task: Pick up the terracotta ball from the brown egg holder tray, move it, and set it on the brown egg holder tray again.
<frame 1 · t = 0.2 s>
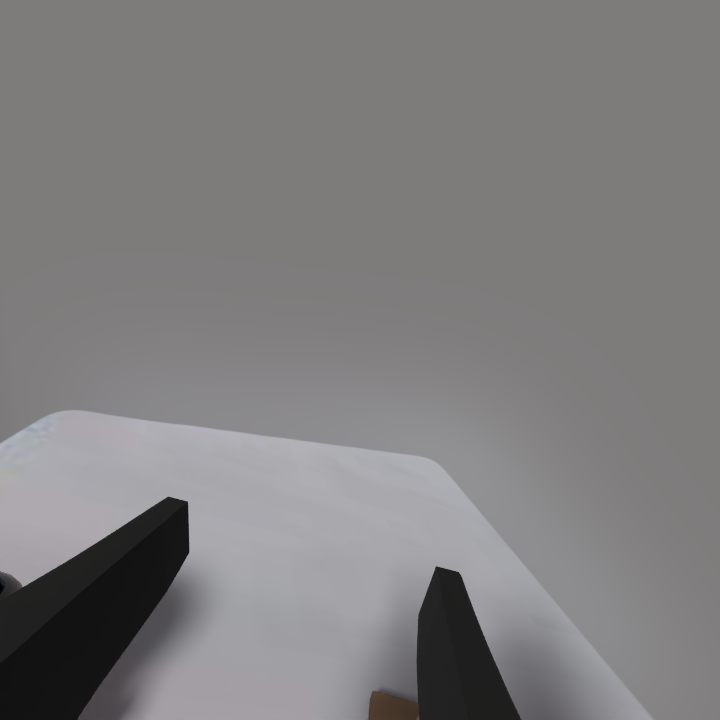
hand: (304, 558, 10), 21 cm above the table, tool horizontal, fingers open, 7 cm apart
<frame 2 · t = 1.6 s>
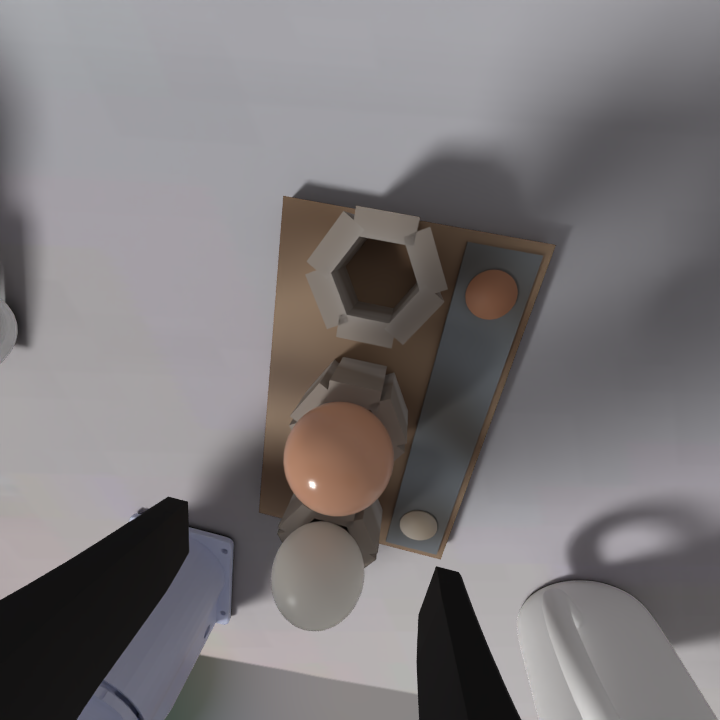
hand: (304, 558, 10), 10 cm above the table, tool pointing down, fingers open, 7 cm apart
cream ball: (318, 572, 17), point 6 cm above the table, touching brown egg holder tray
mug: (566, 598, 22), on the table
terracotta ball: (339, 456, 14), point 6 cm above the table, touching brown egg holder tray
brown egg holder tray: (376, 399, 19), on the table
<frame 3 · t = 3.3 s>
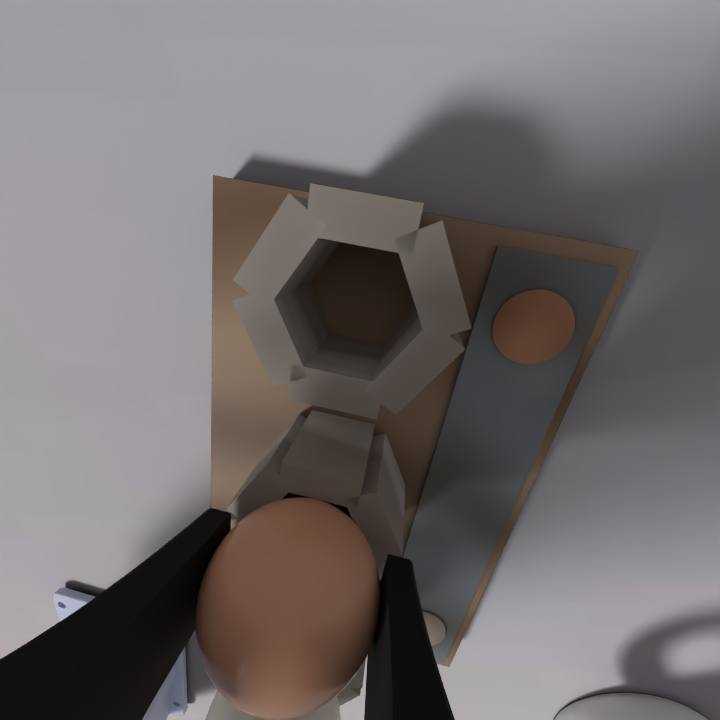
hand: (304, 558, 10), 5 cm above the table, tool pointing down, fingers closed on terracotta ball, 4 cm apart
mug: (613, 710, 17), on the table
terracotta ball: (293, 591, 9), point 6 cm above the table, touching gripper, brown egg holder tray
brown egg holder tray: (362, 462, 14), on the table
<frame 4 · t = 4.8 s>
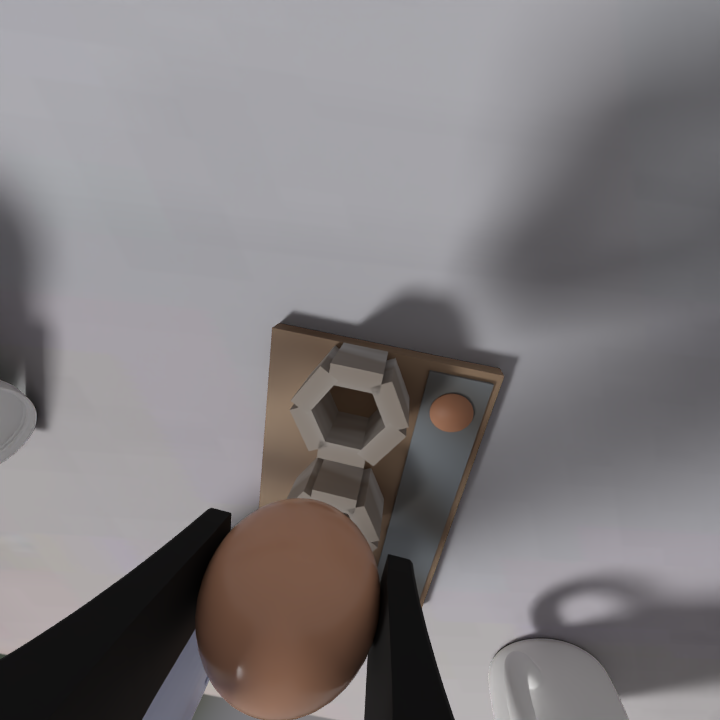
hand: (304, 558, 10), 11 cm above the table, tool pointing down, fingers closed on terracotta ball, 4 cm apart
mug: (532, 652, 25), on the table
terracotta ball: (292, 592, 9), point 12 cm above the table, touching gripper
brown egg holder tray: (357, 484, 22), on the table
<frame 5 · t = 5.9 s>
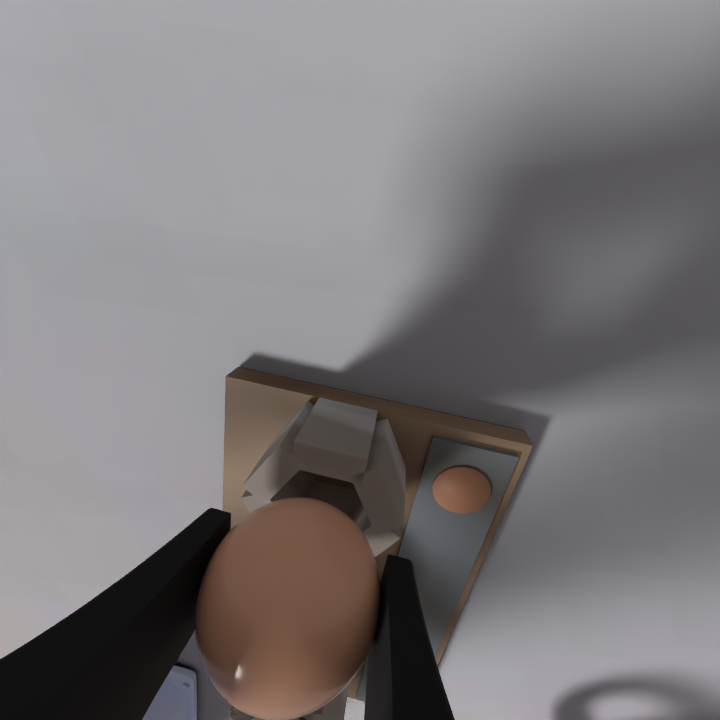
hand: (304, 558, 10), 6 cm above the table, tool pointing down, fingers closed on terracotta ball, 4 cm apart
terracotta ball: (292, 592, 9), point 7 cm above the table, touching gripper
brown egg holder tray: (342, 559, 17), on the table
when the fingers open (6 cm above the table, at t = 6.6 s): terracotta ball drops 1 cm, resting on brown egg holder tray.
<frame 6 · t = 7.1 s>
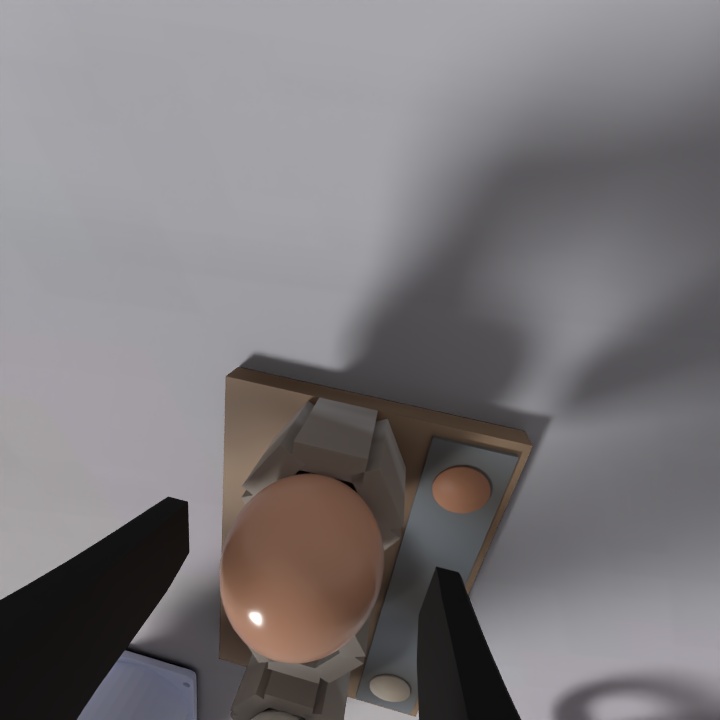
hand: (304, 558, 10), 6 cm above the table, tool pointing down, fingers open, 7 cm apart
terracotta ball: (304, 557, 10), point 6 cm above the table, touching brown egg holder tray
brown egg holder tray: (342, 559, 17), on the table
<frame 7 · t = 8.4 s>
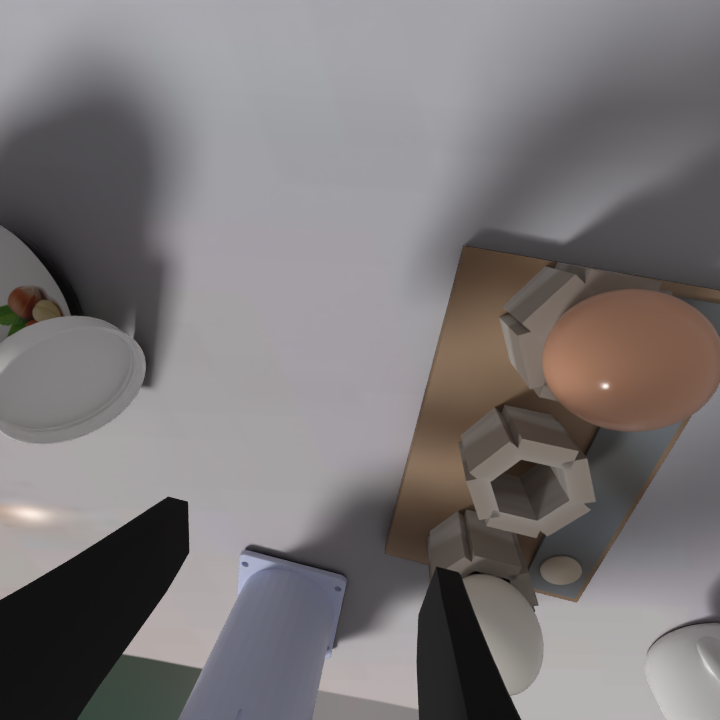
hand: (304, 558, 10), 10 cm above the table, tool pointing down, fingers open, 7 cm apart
cream ball: (489, 629, 16), point 6 cm above the table, touching brown egg holder tray
mug: (699, 639, 22), on the table
terracotta ball: (621, 360, 11), point 6 cm above the table, touching brown egg holder tray
brown egg holder tray: (525, 443, 19), on the table
spread jar: (65, 318, 21), on the table
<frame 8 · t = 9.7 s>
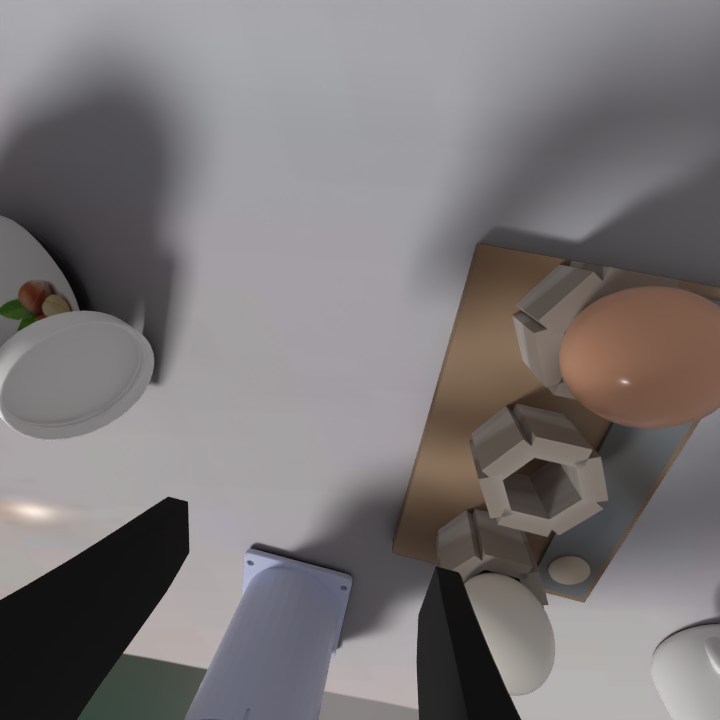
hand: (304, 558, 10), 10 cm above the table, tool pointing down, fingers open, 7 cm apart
cream ball: (500, 628, 16), point 6 cm above the table, touching brown egg holder tray
mug: (705, 640, 22), on the table
terracotta ball: (640, 357, 11), point 6 cm above the table, touching brown egg holder tray
brown egg holder tray: (535, 443, 19), on the table
spread jar: (73, 314, 20), on the table
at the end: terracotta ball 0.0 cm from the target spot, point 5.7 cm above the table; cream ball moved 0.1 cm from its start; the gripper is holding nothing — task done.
